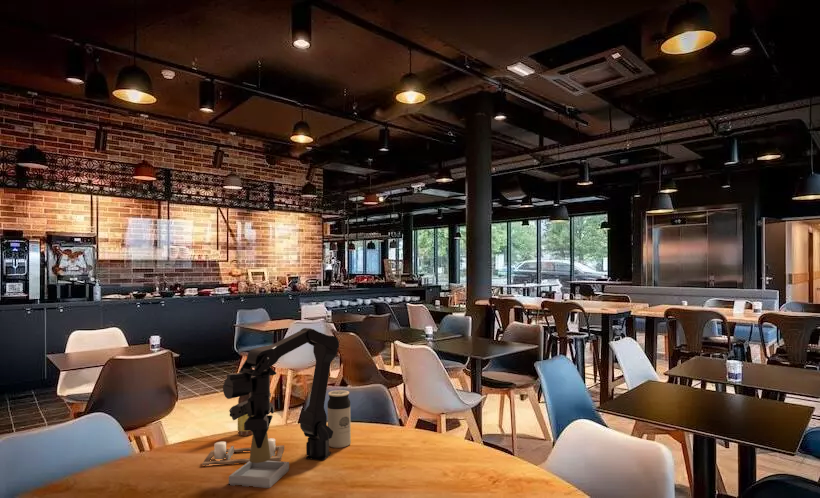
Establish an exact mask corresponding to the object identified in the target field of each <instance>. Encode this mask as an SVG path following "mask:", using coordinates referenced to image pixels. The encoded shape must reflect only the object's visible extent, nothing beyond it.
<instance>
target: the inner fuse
mask: <svg viewBox="0 0 820 498" xmlns="http://www.w3.org/2000/svg"><path fill="white" fill-rule="evenodd" d="M268 442H269V450H270V457H272V456H273V457H275V456H276V450H275V446H276V438H273V437H272V438H271V437H270V438H269V437H268Z"/></svg>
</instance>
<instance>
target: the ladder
mask: <svg viewBox="0 0 820 498" xmlns="http://www.w3.org/2000/svg"><path fill="white" fill-rule="evenodd" d="M243 451H251V447H240V448H239V447H238V448H235V445H230V447H229V448H228V449H227V448H226V452H228V453H227V454H226V459H225V460H220V461H215V460H211V458H212V457H213V455H214V449H211V450H210V451H209V453H208V454H207V456H206V457H205V459H204V460H203V462H202V464H201V465H209V464H232V465H235V464H234V463H247V462H249V460H250V457H249V458H247V457H246V458H238V459H237V458H235V459H232V458H231V456H232V455H233V456H234V454H235V453H234V452H243ZM275 451H277V453H276V455H275V456H273V457H271V458H270V460H268V461H282V457H283V455H282V454H284V451H285V445H283V444H282V445H275ZM233 453H234V454H233ZM233 456H232V457H233ZM213 458H214V457H213ZM213 458H212V459H213ZM230 458H231V459H230ZM210 460H211V461H210Z"/></svg>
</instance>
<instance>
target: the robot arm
mask: <svg viewBox="0 0 820 498" xmlns="http://www.w3.org/2000/svg"><path fill="white" fill-rule="evenodd" d="M307 343H308V344H309V345H310V346H313V348H312V349H313V350H312V351H313V355H314V359H315V366H314V367H315V368H314V372H313V378H312V383H311V391H310V397H309V402H308V406H307V407H306V409H305V410H304V409H302V410H301V412H300V417H299V421H298V424H299V427H300V429H301V430H302V432H303V434H304V437H307V441H306V445H305V446H306V447H305V448H306V450H305V451H306V453H305V455H306V456H305V459H306V460H315V461H325V460H326V459H327V458H328V457H329V456H330V455H331V454H332V451H330V446H329V439H330V438H332V435H333V431H332V430H331V429H330V428H329V427H328V415H327V414H326V413H327V412H326V410H325V409H326V408H325V403H326V402H325V401H326V395H327V389H328V382H329V376H330V370H331V364H332V362H333V360H334V359H335V358H336V356H337V353H338V350H339V348H340V347H339V346H340V341H339V339H338V337H336V336H334V335H330V334H329V335H327V334H325V333H322V332H320V331H318V330H316V329H314V328H310V327H304V328H302V329H300V330H299V331H297V332H295V333H293V334H291V335H289V336H287V337H285V338H283V339H281V340H279V341H277V342H275V343H273V344H270V345H264V346H260V347H256V348H253V349H251V350H249V352H248V353H247V356H246V359H245V361H244V363H243V364H242V366H241V368H240V369H239V371H238V372H237V373H236V372H235V373H227V374H226V379H225V380H224V382H223V385H222V391H223V396H224V398H226V399H227V400H230V399H235V398H239V397H240V396H245V395H248V394H249V393H250V397H249V398H248V400H247V401H244V402H242V403H240V404H238V403H237V404H235V405H233V406H231V407H230V408H229V411H228V412H229V417H231V419H232V421H235V420H238V418H239V417H241V416H244V415H246V414H247V416H249V418H248V419H247V420H246V421H245V423H244V430H251V431H252V432H253V434H252V436H253V435H254V438H255V442H256V446H257V448H261V446H262V444H263V441H264V438H265V435H266V432H267V433H268V431H267V429H268V427H269V428H270V424H271V422H272V419H273V415H272V414H274V413H275V404H273V403H272V402H271V397H272V393H271V383H270V382H271V381H270V380H271V376H275V375H277V372H276V371H275V370H274V369H272V366H274V365H275V364H277V362H278V360H280V358H282V357H283V356H285V355H286V354H288V353H290V352H292V351H294V350H296V349H298V348H300V347H302V346H303V345H305V344H307ZM270 414H271V415H270ZM252 415H253V416H252ZM268 430H269V429H268Z"/></svg>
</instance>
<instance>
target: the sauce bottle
mask: <svg viewBox="0 0 820 498" xmlns="http://www.w3.org/2000/svg"><path fill="white" fill-rule="evenodd" d="M249 397H250V393H249V394H248V395H245V396H240V397H238V400H237V404H240V403H242V402H244V401H247V400H248V398H249ZM252 416H253V415H252ZM248 418H249V416H247V414H246V415H244V416H241V417H239V418H237V435H238V434H239V435H238V436H240V435H243V436H242V437H248V436H251V435H252V436H253V433H252V432H251V430H244V423H245V421H246V420H247V419H248ZM238 431H239V432H238ZM247 435H248V436H247Z"/></svg>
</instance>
